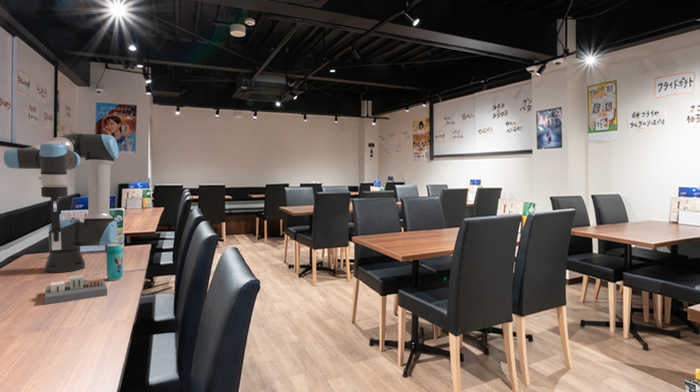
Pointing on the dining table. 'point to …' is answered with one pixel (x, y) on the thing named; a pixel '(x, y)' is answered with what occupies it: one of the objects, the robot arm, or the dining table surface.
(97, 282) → the orange cube
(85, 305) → the dining table surface
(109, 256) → the beverage can
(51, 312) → the dining table surface
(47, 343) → the dining table surface
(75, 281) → the tile two bar
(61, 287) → the cream cube
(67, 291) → the tile board
